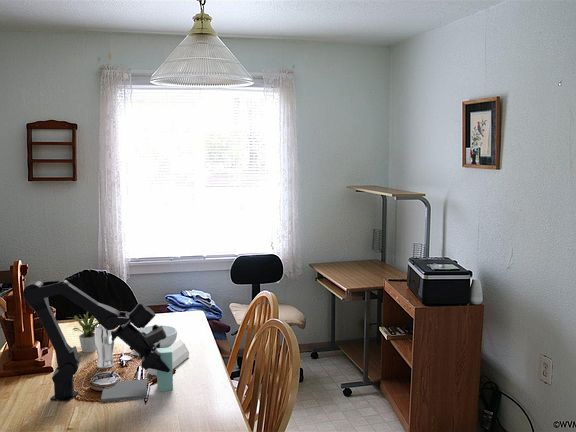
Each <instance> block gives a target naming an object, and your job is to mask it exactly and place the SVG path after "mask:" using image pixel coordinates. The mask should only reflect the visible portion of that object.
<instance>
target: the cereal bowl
mask: <svg viewBox="0 0 576 432" xmlns="http://www.w3.org/2000/svg"><path fill="white" fill-rule="evenodd" d="M157 325H158V324H157ZM152 326H153V325H149V326H145V327H144V328H137V329H138V330H139V331H140V332H141V333H142V332H145V333H146V334H148V333H149V332H150V331H152ZM158 326H159V327H160V326H162V327H163V329H164V331H165V333H166V338H165V339H163V340H160V341H159V342H158V343H160V348H168V347H170V346H171V345H173V344H174V343H175V342H176V341H177V336H178V329H176V328H175V327H173V326H170V325H162V324H161V325H158ZM158 343H157V342H156V343H155V344H154V345H157V344H158Z"/></svg>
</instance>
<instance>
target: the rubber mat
mask: <svg viewBox="0 0 576 432" xmlns="http://www.w3.org/2000/svg"><path fill="white" fill-rule="evenodd" d="M147 381H148V378H142V379H133V380H131V379H130V380H121V381H120V380H119V381H117V382H118V383H117V385H116V386H114V387H112V388H109V389H103V388H102V392H101V397H100V403H107V402H118V401H119V402H120V401H127V400H128V401H129V400H130V401H131V400H139V399H147V394H148V392H147V391H148V388H147V387H148V384H147V383H148V382H147Z"/></svg>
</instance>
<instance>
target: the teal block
mask: <svg viewBox="0 0 576 432" xmlns="http://www.w3.org/2000/svg"><path fill="white" fill-rule="evenodd" d="M169 347H170V346H169ZM156 350H157V351H158V352H160V355H161V359H162V361H163V362H164V363H165V364H166V365H167V367H168V368H169V369H170V371H169V372H168V373H167V372H163V371H160V370H157V376H156V379H157V380H156V381H157V382H156V384H157V387H156V388H157V392H167V391H174V381H173V380H174V378H173V375H174V374H173V373H174V372H173V370H174V369H172V347H170V348H168V347H167V348H156Z"/></svg>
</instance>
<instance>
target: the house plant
mask: <svg viewBox="0 0 576 432" xmlns="http://www.w3.org/2000/svg"><path fill="white" fill-rule="evenodd" d="M77 315H79V314H77ZM77 315H74V316H73V319H74V320H76V321H77V322H78V324H79V326H80V327H81V328H82V330H81V329H80V328H78V327H74V328H72V331H73V332H76V331H80V332H82V333H81V334H79V336H78V338H79V344H80V347H81V352H82V353H92V352H95V351H97V350H96V345H95V326H97V325H100V323H99V322H98V321H97V320H96V319H95V318H94V316H93V315H92V314H91V316H90V318H89V312H87V311H86V314H85V313H83V316H84V317H82V316H80V317H81V319H80V318H79V316H77ZM65 318H72V317H70V316H69V317H65Z"/></svg>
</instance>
